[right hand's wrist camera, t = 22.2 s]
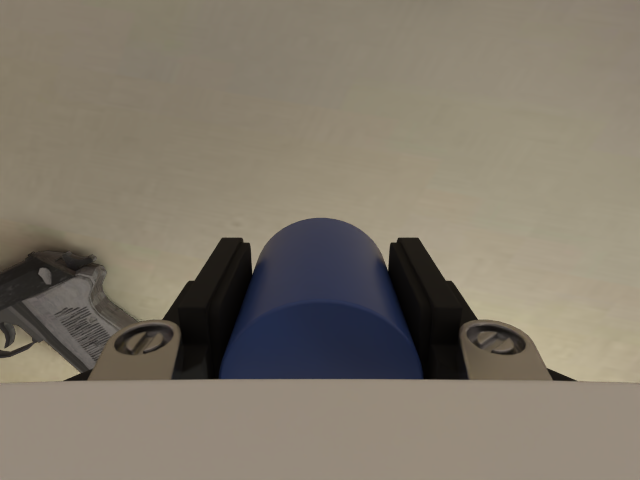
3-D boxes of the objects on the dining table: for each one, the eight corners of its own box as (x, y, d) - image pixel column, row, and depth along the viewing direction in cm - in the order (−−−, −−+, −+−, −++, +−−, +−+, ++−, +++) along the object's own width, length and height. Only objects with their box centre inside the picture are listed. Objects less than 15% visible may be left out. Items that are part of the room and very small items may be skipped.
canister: (411, 253, 12) (465, 353, 7) (347, 354, 13) (361, 491, 9) (289, 194, 11) (269, 264, 7) (234, 305, 12) (187, 426, 8)
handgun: (4, 418, 37) (-99, 312, 33) (172, 350, 34) (82, 225, 30) (-15, 439, 35) (-127, 329, 31) (162, 368, 32) (64, 236, 28)
